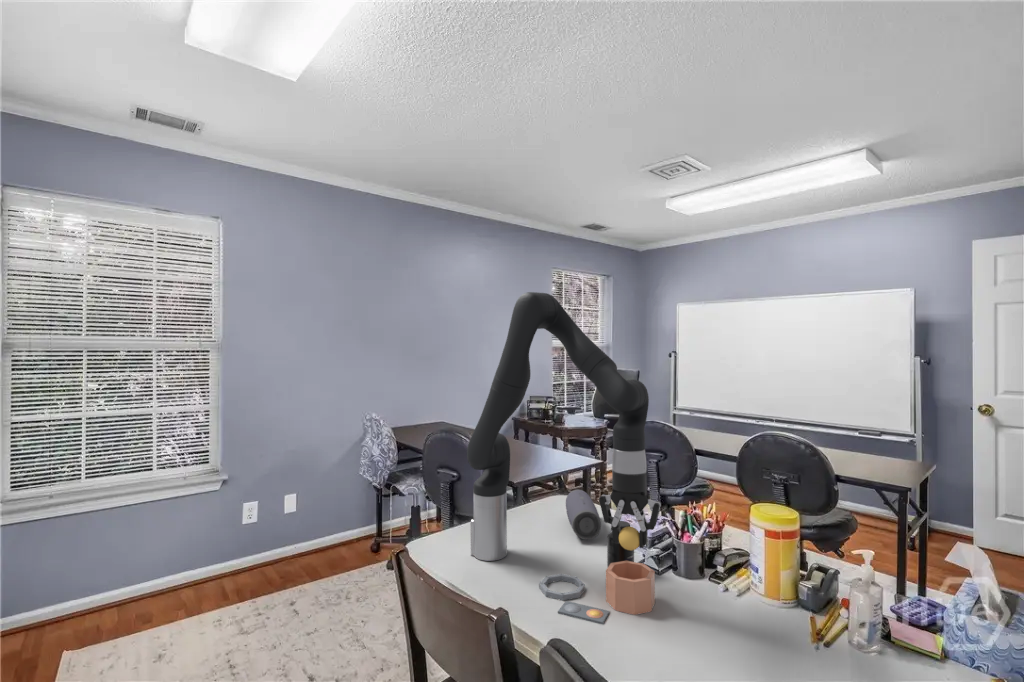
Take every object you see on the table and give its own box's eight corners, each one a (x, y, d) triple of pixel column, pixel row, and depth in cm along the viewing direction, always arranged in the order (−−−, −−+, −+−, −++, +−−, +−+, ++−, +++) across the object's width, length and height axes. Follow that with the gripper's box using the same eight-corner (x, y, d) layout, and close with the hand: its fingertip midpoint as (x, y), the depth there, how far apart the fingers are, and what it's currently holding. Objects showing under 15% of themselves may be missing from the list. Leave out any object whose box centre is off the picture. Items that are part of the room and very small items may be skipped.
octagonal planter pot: (602, 607, 112) (602, 575, 112) (614, 587, 120) (614, 558, 121) (648, 618, 107) (648, 585, 107) (657, 596, 116) (657, 566, 116)
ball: (616, 551, 113) (615, 529, 113) (621, 543, 117) (621, 522, 117) (638, 555, 110) (638, 532, 110) (643, 547, 115) (643, 525, 115)
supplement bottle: (634, 577, 126) (634, 529, 126) (607, 575, 127) (606, 527, 127) (633, 565, 133) (633, 519, 133) (607, 563, 134) (607, 518, 134)
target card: (557, 613, 109) (557, 610, 109) (565, 602, 114) (565, 600, 114) (602, 624, 105) (602, 621, 105) (609, 612, 109) (609, 610, 109)
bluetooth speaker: (603, 544, 147) (603, 509, 147) (571, 544, 147) (571, 509, 147) (592, 517, 170) (591, 487, 170) (564, 517, 170) (564, 487, 170)
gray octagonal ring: (534, 593, 118) (534, 588, 118) (550, 576, 127) (550, 571, 127) (575, 603, 113) (575, 598, 113) (588, 584, 122) (588, 579, 122)
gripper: (593, 469, 114) (594, 545, 114) (658, 475, 107) (659, 556, 107) (602, 462, 121) (603, 533, 120) (664, 468, 114) (665, 543, 114)
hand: (630, 544), depth 114 cm, fingers closed on ball, 5 cm apart
